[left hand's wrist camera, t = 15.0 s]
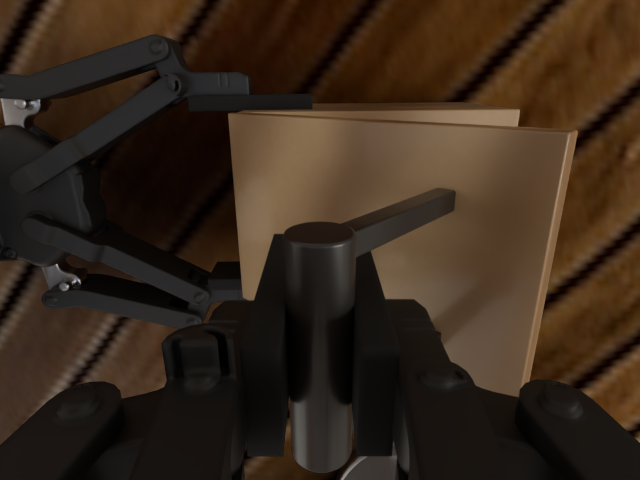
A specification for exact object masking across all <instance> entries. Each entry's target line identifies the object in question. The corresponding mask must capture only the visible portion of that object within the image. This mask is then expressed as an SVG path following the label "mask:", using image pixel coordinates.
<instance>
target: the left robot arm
mask: <svg viewBox="0 0 640 480" xmlns="http://www.w3.org/2000/svg"><path fill="white" fill-rule="evenodd" d="M161 345H162V351H163V358H164V364H165V371H166V377H167V382H166V384H165V387H164V388H161V389H159V390H156V391H153V392H150V393H146V394H141V395H137V396H132V397H128V398H123V399H122V398H121V393H120V390H119V389H118V388H117V387H116V386H115V385H114V384H110V383H107V382H88V383H84V384H79V385H76V386H73V387H71V388H69V389H67V390H64V391H62V392H60V393H59V394H57V395H56V396H55V397H53V398H52V399H50V400H49V401H48V402H47V403H45V404H44V405H43V406H42V407H41V408H40V409H39V410H38V411H37V412H36V413H35V414H34V415H32V416H31V417H30V418H29V419H28V420H27V421H26V422H25V423H24V424H23V425H22V426H21V427H20V428H18V429H17V430H16V431H15V432H14V433H13V434H12V435H11V436H10V437H9V438H8V439H7V440H6V441H4V442H3V443H2V444H1V445H0V480H244V479H245V475H244V463H243V456H244V451H245V446H246V441H247V453H248V456H283V453H284V442H285V432H286V422H287V412H288V401H289V376H288V351H287V325H286V303H285V282H284V258H283V234H274V235H273V239H272V242H271V245H270V248H269V252H268V255H267V258H266V262H265V265H264V268H263V272H262V275H261V278H260V282H259V285H258V288H257V292H256V295H255V298H254V300H226V301H224V302H223V303H222V304H221V305H219V306H218V307H217V308H216V309H214V311H213V313H212V315H211V317H210V319H209V323H208V324H197V325H190V326H187V327H184V328H182V329H179V330H177V331H175V332H174V333H172V334H170V335H169V336H167V338H166V339H165V340H164V341H163V343H162V344H161ZM351 404H352V415H353V425H354V435H355V445H356V449H355V450H354V451H353V452H352V453H351V455H350V457H349V459H348V460H347V462H346V463H345V464H344V465H343V466H342V467H340V469H339V472H338V474H337V477H336V480H640V443H639V442H638V441H637V440H636V439H635V438H634V437H633V436H632V435H631V434H630V433H628V432H627V431H626V430H625V429H624V428H623V427H622V426H621V425H620V424H619V423H618V422H616V421H615V420H614V419H613V418H612V417H611V416H610V415H609V414H608V413H607V412H606V411H605V410H603V409H602V408H601V407H600V406H599V405H598V404H597V403H596V402H595V401H594V400H593V399H591V398H590V397H588V396H587V395H586V394H584V393H583V392H581V391H580V390H578V389H576V388H573V387H571V386H569V385H567V384H564V383H560V382H557V381H552V380H533V381H530V382H527V383H525V384H524V385H523V386H522V387H521V388H520V391H519V396H518V397H516V396H511V395H507V394H502V393H497V392H493V391H490V390H486V389H483V388H480V387H478V386H476V385H475V383H474V381H473V379H472V378H471V376H470V375H469V373H468V372H467V371H466V370H465V369H463V368H462V367H460V366H459V365H458V364H455V363H453V362H451V361H450V359H449V357H448V355H447V352H446V350H445V348H444V346H443V344H442V342H441V340H440V337H439V335H438V333H437V331H435V327H434V325H433V322H431V318H430V316H429V314H428V312H427V310H426V308H425V307H423V306H422V305H421V304H420V303H418V302H417V301H416V300H415V299H385V296H384V293H383V289H382V286H381V283H380V279H379V276H378V273H377V269H376V266H375V263H374V260H373V256H372V253H371V251H369V252H367V253H365V254H363V255H361V256H359V257H357V258H356V281H355V304H354V327H353V362H352V396H351Z"/></svg>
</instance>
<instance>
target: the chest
mask: <svg viewBox="0 0 640 480" xmlns="http://www.w3.org/2000/svg"><path fill="white" fill-rule="evenodd" d="M240 112H247V113H266V114H285V115H304V116H323V117H342V118H361V119H380V120H399V121H418V122H437V123H456V124H475V125H494V126H513V127H517V126H518V120H519V113H520V110H519V109H514V108H506V107H497V106H489V105H480V104H472V103H463V102H432V103H335V104H313V108H312V110H243V111H240ZM238 113H239V112H238Z"/></svg>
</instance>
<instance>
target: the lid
mask: <svg viewBox="0 0 640 480" xmlns="http://www.w3.org/2000/svg"><path fill="white" fill-rule="evenodd" d="M228 120H229V132H230V144H231V157H232V169H233V181H234V194H235V206H236V219H237V231H238V243H239V256H240V268H241V280H242V293H243V298H245V299H247V300H254V298H255V295H256V292H257V288H258V285H259V282H260V278H261V275H262V272H263V268H264V265H265V262H266V258H267V255H268V252H269V248H270V245H271V242H272V239H273V235H274V234H283V258H284V282H285V303H286V325H287V351H288V376H289V400H290V424H291V447H292V454H293V456H294V458H295V460H296V461H297V463H298V464H299V465H300V466H301V467H303V468H304V469H306V470H308V471H311V472H315V473H328V472H332V471H335V470H337V469H339V468H340V467H342V466H343V465H344V464H345V463H346V462H347V460H348V459H349V457H350V455H351V452H352V431H353V430H354V425H353V415H352V404H351V396H352V362H353V327H354V304H355V281H356V258H357V257H359V256H361V255H363V254H365V253H367V252H369V251H371V253H372V256H373V260H374V263H375V266H376V269H377V273H378V276H379V279H380V283H381V286H382V289H383V293H384V296H385V299H415V300H416V301H417V302H418V303H420V304H421V305H422V306H423V307H425V308H426V310H427V312H428V314H429V316H430V318H431V322H433V325H434V327H435V331H437V333H438V335H439V337H440V340H441V342H442V344H443V346H444V348H445V350H446V352H447V355H448V357H449V359H450V361H451V362H453V363H455V364H458V365H459V366H460V367H462V368H463V369H465V370H466V371H467V372H468V373H469V375H470V376H471V378H472V379H473V381H474V383H475V385H476V386H478V387H480V388H483V389H486V390H490V391H493V392H497V393H502V394H507V395H511V396H516V397H518V396H519V391H520V388H521V387H522V386H523V385H524V384H525V383H527V382H529V380H530V375H531V369H532V364H533V359H534V354H535V349H536V344H537V339H538V333H539V328H540V323H541V318H542V313H543V308H544V303H545V297H546V292H547V287H548V282H549V277H550V272H551V267H552V261H553V256H554V251H555V246H556V241H557V236H558V231H559V226H560V220H561V215H562V210H563V205H564V200H565V195H566V190H567V184H568V179H569V174H570V169H571V164H572V159H573V154H574V148H575V143H576V138H577V133H578V132H577V130H570V129H551V128H532V127H513V126H494V125H475V124H456V123H437V122H418V121H399V120H380V119H361V118H342V117H323V116H304V115H285V114H266V113H247V112H239V113H229V114H228Z"/></svg>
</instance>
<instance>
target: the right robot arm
mask: <svg viewBox="0 0 640 480" xmlns="http://www.w3.org/2000/svg"><path fill="white" fill-rule="evenodd" d="M156 68H157V70H158V72H159V74H160V76H161V78H160V79H159V80H157V81H156V82H154V83H153V84H151V85H150V86H148V87H147V88H145V89H144V90H142V91H141V92H139V93H138V94H136V95H135V96H133V97H132V98H130V99H129V100H127V101H126V102H124V103H123V104H121V105H120V106H118V107H117V108H115V109H114V110H112V111H111V112H109V113H108V114H106V115H105V116H103V117H102V118H100V119H99V120H97V121H96V122H94V123H93V124H91V125H90V126H88V127H87V128H85V129H84V130H82V131H81V132H79V133H78V134H76V135H74V136H73V137H70V138H68V139H66V140H64V141H62V142H61V141H60V140H58V139H56V138H55V137H53V136H52V135H50V134H48V133H47V132H45V131H43V130H42V129H40V128H39V127H37V126H35V125H34V118H35V117H36V116H37V115H38V114H42V113H45V112H47V111H48V109H49V107H50V106H51V100H50V99H58V98H66V97H70V96H73V95H76V94H80V93H83V92H86V91H89V90H92V89H95V88H98V87H101V86H104V85H107V84H110V83H113V82H116V81H119V80H123V79H126V78H129V77H132V76H135V75H138V74H141V73H144V72H147V71H150V70H153V69H156ZM0 98H1V103H2V109H3V114H4V120H5V125H6V126H3V127H1V128H0V261H8V260H22V261H26V262H29V263H31V264H33V265H36V266H39V267H42V269H43V272H44V275H45V278H46V281H47V284H48V287H49V290H48V291H47V292H46V293H44V294H43V296H42V302H43V304H44V305H45V306H46V307H48V308H50V309H62V308H74V307H83V308H88V309H93V310H97V311H102V312H106V313H111V314H115V315H120V316H125V317H129V318H134V319H138V320H143V321H147V322H152V323H156V324H161V325H166V326H170V327H175V328H179V329H182V328H184V327H187V326H190V325H197V324H203V321H204V319H205V317H206V315H207V313H208V311H209V308H210V305H211V304H213V303H216V302H224V301H226V300H247V299H245V298H243V293H242V280H241V268H240V262H217V263H216V265H215V267H214V269H213V271H212V273H210V272H208V271H206V270H204V269H202V268H200V267H197V266H195V265H193V264H191V263H189V262H187V261H185V260H183V259H180V258H178V257H176V256H174V255H172V254H170V253H168V252H166V251H163V250H161V249H159V248H157V247H155V246H153V245H151V244H149V243H146V242H144V241H142V240H140V239H138V238H136V237H134V236H132V235H130V234H127V233H126V232H124V230H123V228H122V227H121V226H119V225H117V224H115V223H113V222H111V221H108V220H106V219H105V218H106V217H107V213H106V207H105V204H104V202H103V200H102V198H101V195H100V193H99V190H100V176H99V171H98V168H94V167H93V165H92V164H91V162H92V161H93V160H95V159H96V158H98V157H99V156H101V155H103V154H104V153H106V152H107V151H108V150H109V149H110V148H111V147H113V146H114V145H116V144H118V143H119V142H121V141H122V140H124V139H125V138H127V137H128V136H130V135H131V134H133V133H135V132H136V131H138V130H139V129H141V128H142V127H144V126H145V125H147V124H148V123H150V122H152V121H153V120H155V119H156V118H158V117H159V116H161V115H162V114H164V113H165V112H167V111H169V110H170V109H172V108H173V107H175V106H176V105H178V104H179V103H181V102H182V101H184V100H186V99H188V108H189V111H243V110H312V108H313V103H312V94H253V90H252V77H251V76H249V75H246V74H244V73H240V72H211V73H196V72H194V71H192V70H191V69H190V68H189V67H188V66H187V64H186V62H185V60H184V58H183V55H182V48H181V46H180V45H179V43H178V42H176V41H175V40H172V39H169V38H166V37H163V36H159V35H156V34H155V35H149V36H146V37H143V38H140V39H137V40H134V41H131V42H128V43H125V44H122V45H119V46H116V47H113V48H110V49H107V50H104V51H101V52H98V53H95V54H92V55H89V56H86V57H83V58H80V59H77V60H74V61H71V62H68V63H65V64H62V65H59V66H56V67H53V68H50V69H47V70H44V71H41V72H38V73H35V74H32V75H17V74H0ZM92 236H95V237H94V238H93V237H92ZM70 254H73V255H75V256H77V257H79V258H82V259H84V260H86V261H89V262H102V263H104V264H106V265H109V266H111V267H113V268H115V269H117V270H120V271H122V272H124V273H126V274H128V275H131V276H133V277H135V278H137V279H139V280H142V281H144V282H146V283H148V284H150V285H148V284H144V283H139V282H135V281H130V280H126V279H122V278H117V277H113V276H109V275H103V274H88V271H87V269H86V268H75V267H72V266H70V265H69V264H68V263H67V262H66V260H65V258H66V257H67V256H69V255H70ZM152 285H153V286H152Z"/></svg>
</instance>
